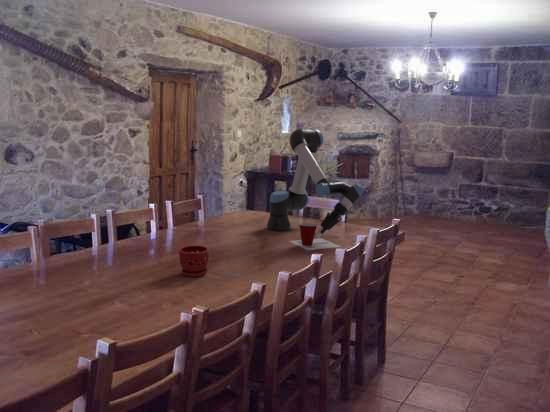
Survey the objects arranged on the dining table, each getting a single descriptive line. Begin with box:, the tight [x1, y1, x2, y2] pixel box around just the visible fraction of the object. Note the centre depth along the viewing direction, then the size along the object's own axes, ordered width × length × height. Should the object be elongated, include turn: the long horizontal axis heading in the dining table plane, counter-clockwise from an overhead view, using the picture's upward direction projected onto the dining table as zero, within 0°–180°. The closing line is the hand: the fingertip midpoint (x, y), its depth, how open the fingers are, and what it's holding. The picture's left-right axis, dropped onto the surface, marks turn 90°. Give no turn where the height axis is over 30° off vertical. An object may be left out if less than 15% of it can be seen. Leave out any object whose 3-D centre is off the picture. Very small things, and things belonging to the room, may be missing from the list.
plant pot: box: [178, 245, 210, 278], centre depth 258 cm, size 13×13×12 cm
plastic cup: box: [298, 222, 318, 245], centre depth 321 cm, size 11×11×12 cm
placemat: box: [288, 237, 342, 251], centre depth 324 cm, size 22×22×1 cm
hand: (316, 236), depth 324 cm, fingers closed
